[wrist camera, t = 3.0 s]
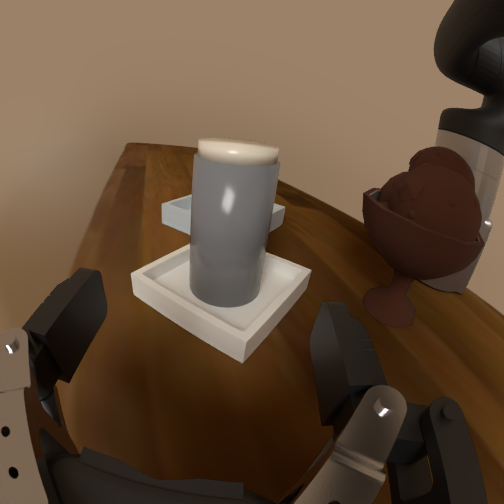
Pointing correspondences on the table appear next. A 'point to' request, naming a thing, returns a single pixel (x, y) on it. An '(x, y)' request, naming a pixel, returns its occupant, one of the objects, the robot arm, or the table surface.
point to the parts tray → (219, 318)
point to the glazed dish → (180, 214)
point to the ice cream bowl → (422, 228)
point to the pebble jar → (231, 218)
